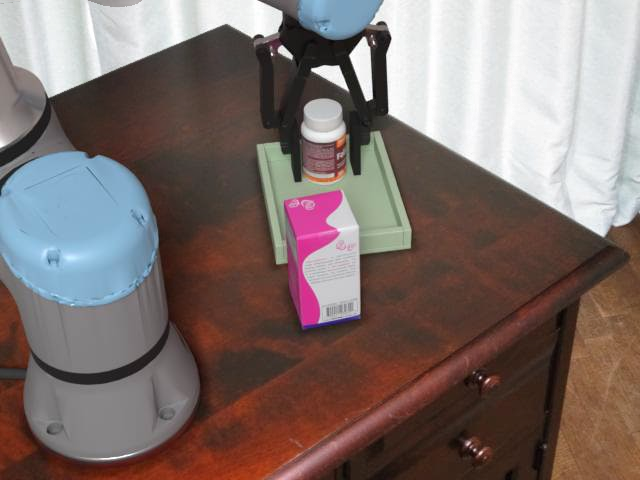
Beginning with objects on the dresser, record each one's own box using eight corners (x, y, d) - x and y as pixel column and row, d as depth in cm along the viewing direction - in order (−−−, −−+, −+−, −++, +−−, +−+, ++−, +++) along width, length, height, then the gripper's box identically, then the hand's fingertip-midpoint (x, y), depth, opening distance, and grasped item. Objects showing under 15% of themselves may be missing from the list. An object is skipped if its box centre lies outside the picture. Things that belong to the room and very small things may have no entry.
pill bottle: (346, 186, 122) (346, 122, 116) (301, 187, 122) (299, 123, 116) (346, 159, 125) (346, 95, 120) (303, 159, 125) (300, 95, 120)
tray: (276, 264, 114) (275, 246, 112) (257, 162, 126) (256, 144, 124) (411, 248, 115) (411, 229, 113) (379, 148, 127) (379, 130, 126)
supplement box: (345, 277, 112) (344, 186, 104) (361, 319, 108) (362, 228, 100) (287, 288, 111) (282, 197, 103) (301, 331, 107) (297, 240, 99)
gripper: (409, -51, 111) (404, 140, 127) (217, -32, 110) (235, 159, 125) (426, -12, 106) (418, 182, 121) (224, 8, 104) (242, 203, 120)
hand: (325, 170), depth 123 cm, fingers open, 6 cm apart
